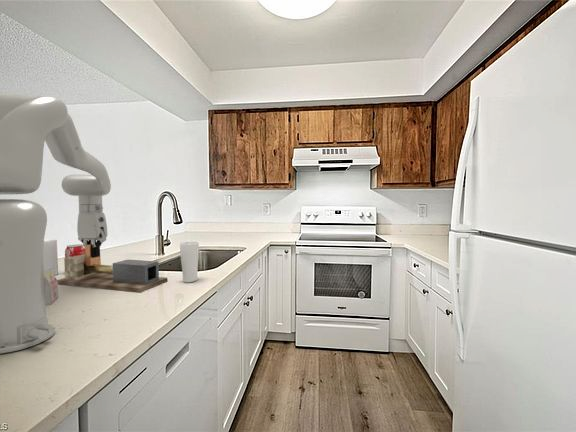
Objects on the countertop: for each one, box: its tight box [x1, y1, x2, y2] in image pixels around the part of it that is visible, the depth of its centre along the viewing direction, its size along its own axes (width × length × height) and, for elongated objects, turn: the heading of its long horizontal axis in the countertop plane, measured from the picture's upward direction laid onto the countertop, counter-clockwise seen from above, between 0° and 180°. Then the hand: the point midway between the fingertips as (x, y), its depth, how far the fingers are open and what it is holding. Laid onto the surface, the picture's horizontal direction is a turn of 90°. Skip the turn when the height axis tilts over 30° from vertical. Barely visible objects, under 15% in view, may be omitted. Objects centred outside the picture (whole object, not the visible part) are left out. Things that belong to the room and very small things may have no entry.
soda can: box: [64, 243, 85, 258], centre depth 125 cm, size 7×7×12 cm
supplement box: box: [43, 238, 59, 276], centre depth 120 cm, size 9×9×15 cm
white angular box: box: [44, 268, 59, 306], centre depth 90 cm, size 4×7×10 cm, turn 24°
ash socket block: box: [63, 254, 102, 280], centre depth 114 cm, size 6×10×8 cm, turn 165°
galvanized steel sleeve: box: [112, 259, 160, 285], centre depth 107 cm, size 14×7×7 cm, turn 75°
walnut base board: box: [57, 273, 168, 294], centre depth 110 cm, size 38×14×2 cm, turn 75°
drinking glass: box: [179, 241, 200, 283], centre depth 113 cm, size 7×7×15 cm
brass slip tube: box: [84, 244, 113, 274], centre depth 111 cm, size 22×4×11 cm, turn 75°
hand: (92, 256), depth 112 cm, fingers closed on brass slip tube, 2 cm apart
